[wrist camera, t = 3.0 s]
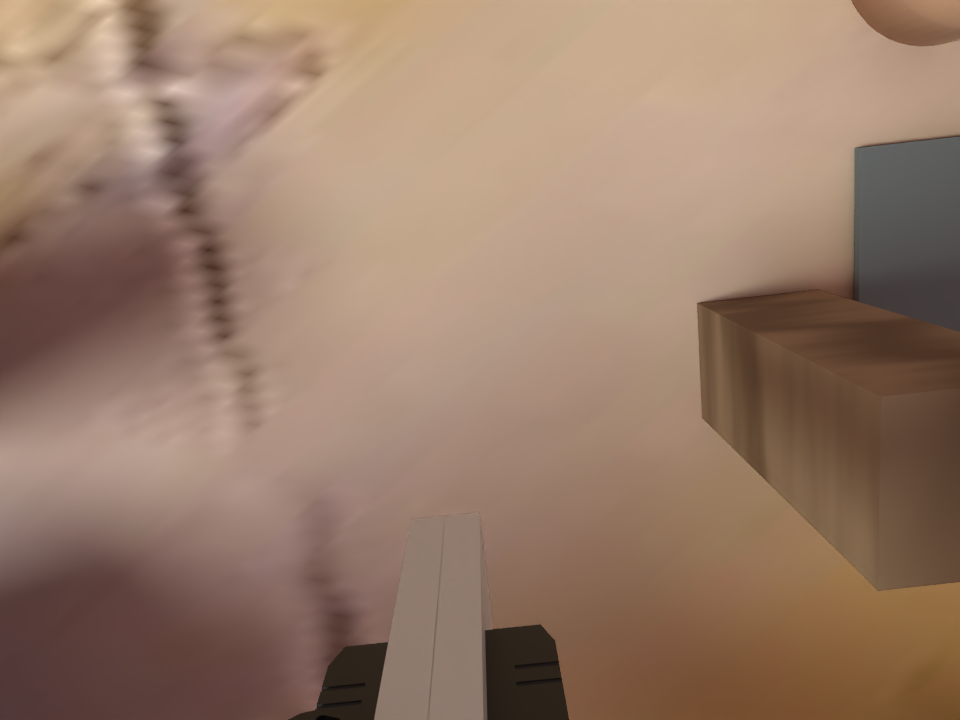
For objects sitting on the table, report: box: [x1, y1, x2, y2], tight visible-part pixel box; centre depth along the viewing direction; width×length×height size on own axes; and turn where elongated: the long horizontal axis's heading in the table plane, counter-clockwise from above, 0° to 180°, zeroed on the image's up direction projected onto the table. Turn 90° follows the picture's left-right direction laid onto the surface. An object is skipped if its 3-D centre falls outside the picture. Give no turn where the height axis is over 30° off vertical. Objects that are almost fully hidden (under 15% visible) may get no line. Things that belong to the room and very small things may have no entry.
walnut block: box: [697, 290, 960, 591], centre depth 25 cm, size 5×5×14 cm
